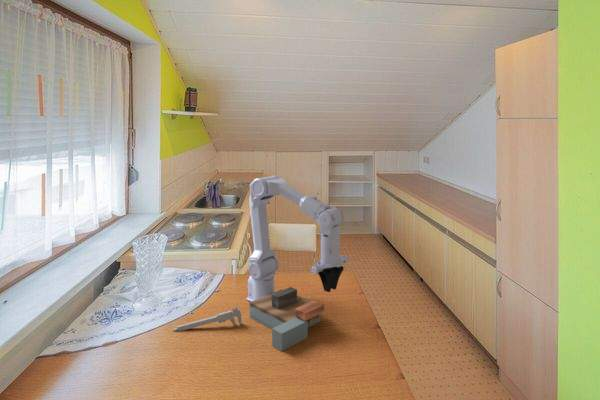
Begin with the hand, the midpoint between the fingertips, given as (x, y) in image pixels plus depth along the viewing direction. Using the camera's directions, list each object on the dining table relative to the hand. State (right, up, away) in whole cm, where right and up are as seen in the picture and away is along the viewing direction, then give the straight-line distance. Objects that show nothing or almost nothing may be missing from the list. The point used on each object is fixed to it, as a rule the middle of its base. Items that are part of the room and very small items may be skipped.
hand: (330, 289), depth 123 cm
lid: (-13, -7, +1) cm, 15 cm away
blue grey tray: (-15, -11, 0) cm, 18 cm away
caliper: (-37, -12, -1) cm, 39 cm away
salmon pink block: (-6, -6, -5) cm, 10 cm away
